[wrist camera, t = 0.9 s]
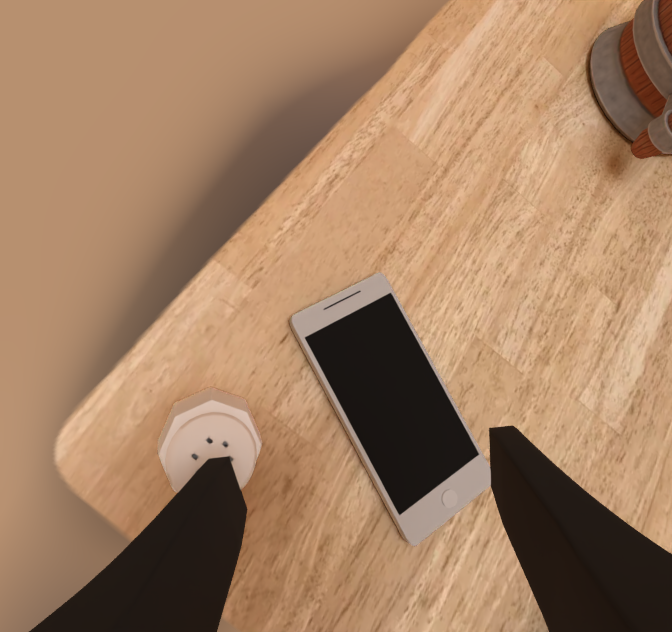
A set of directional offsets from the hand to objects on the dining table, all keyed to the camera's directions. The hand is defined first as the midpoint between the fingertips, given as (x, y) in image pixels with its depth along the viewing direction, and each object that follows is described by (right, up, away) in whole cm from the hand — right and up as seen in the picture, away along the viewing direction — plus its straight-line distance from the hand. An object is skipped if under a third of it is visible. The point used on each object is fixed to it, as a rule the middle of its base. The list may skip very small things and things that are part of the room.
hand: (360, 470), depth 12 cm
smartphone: (+3, -1, +15) cm, 16 cm away
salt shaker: (-8, -2, +12) cm, 15 cm away
